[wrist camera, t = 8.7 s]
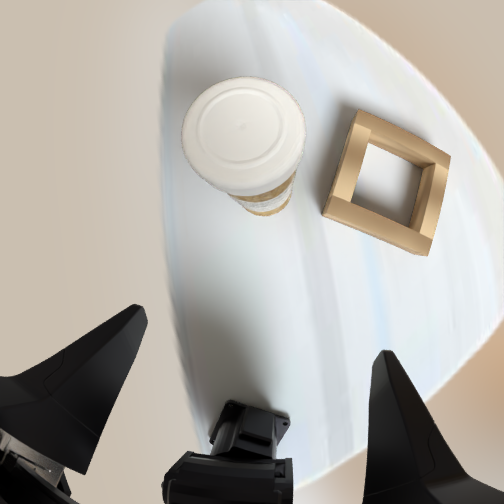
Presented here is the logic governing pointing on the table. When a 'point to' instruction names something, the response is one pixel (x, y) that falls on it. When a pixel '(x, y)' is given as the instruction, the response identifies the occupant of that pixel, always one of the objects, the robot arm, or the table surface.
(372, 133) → the block
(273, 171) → the sprinkles bottle
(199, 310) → the table surface
